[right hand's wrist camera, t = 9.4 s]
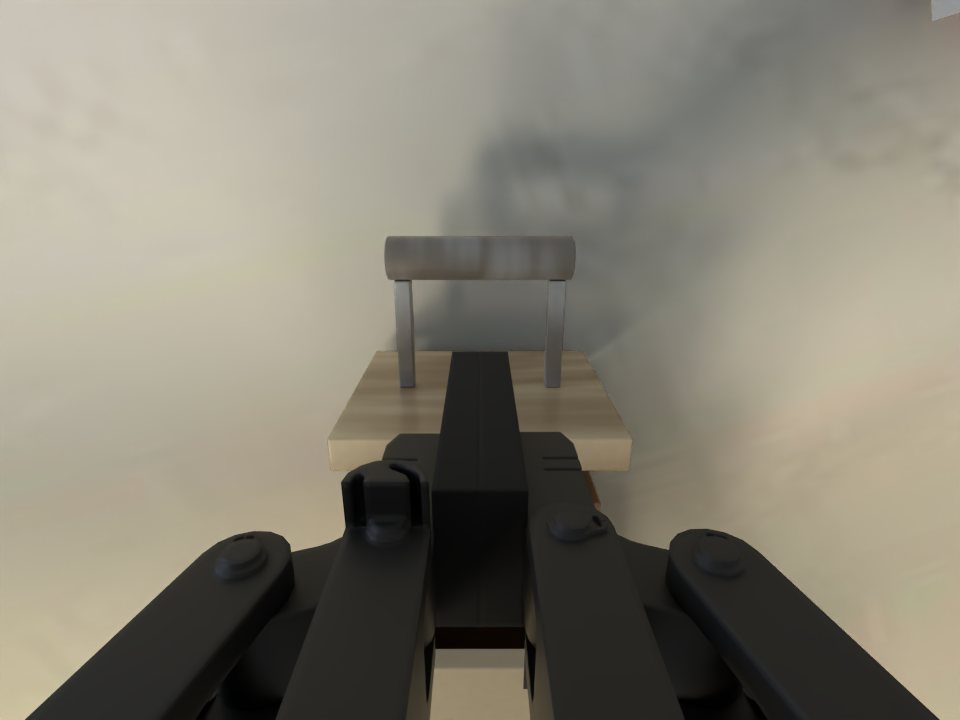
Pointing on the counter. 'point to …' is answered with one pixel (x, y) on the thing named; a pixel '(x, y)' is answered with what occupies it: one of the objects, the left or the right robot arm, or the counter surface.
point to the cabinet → (479, 685)
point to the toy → (944, 8)
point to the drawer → (535, 374)
